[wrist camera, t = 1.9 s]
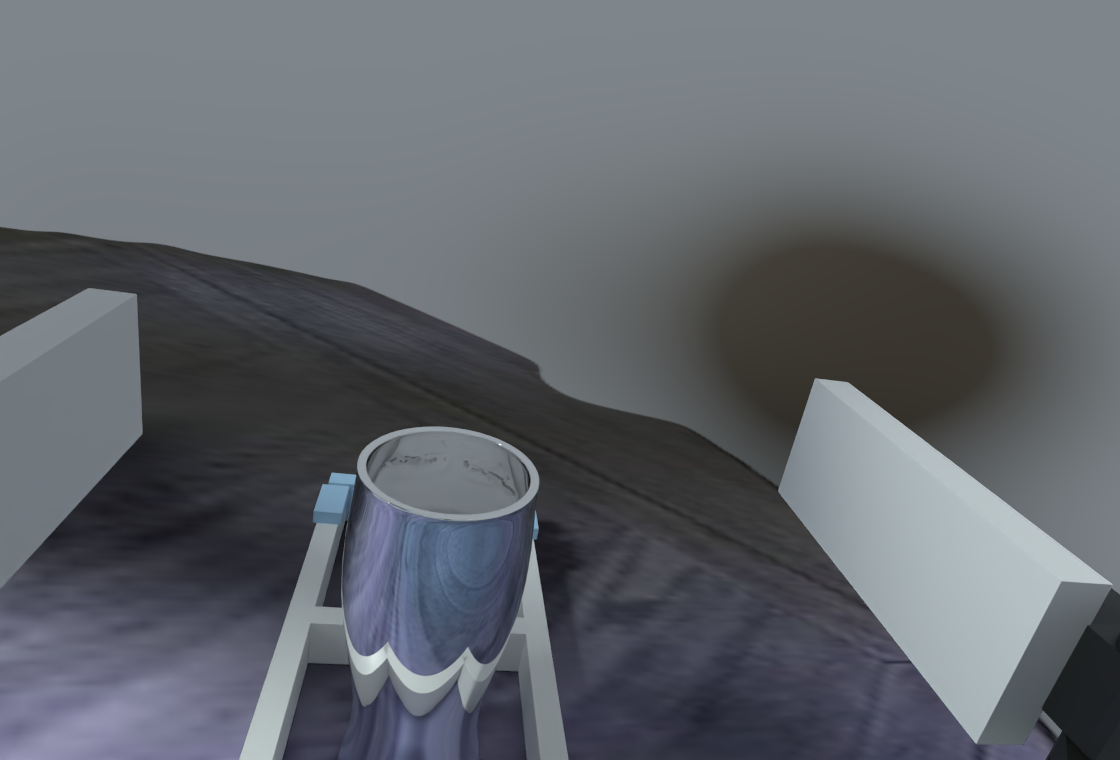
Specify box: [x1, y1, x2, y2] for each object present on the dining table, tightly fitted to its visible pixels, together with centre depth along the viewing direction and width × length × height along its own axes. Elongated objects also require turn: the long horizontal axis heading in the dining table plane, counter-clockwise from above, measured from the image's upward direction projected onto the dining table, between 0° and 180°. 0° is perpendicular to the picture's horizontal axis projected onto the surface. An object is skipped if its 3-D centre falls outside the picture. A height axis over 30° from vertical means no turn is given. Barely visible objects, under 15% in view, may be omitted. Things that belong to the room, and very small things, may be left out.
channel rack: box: [239, 505, 568, 760], centre depth 36 cm, size 26×13×2 cm, turn 7°
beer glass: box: [337, 427, 539, 760], centre depth 28 cm, size 7×7×15 cm
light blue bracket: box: [313, 473, 539, 540], centre depth 45 cm, size 5×13×3 cm, turn 97°
